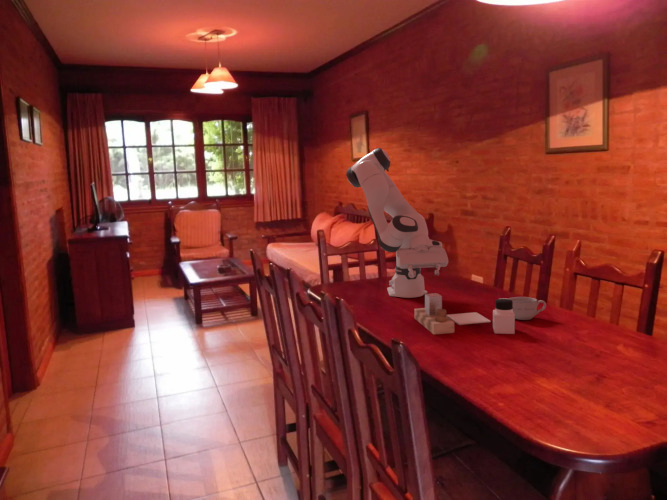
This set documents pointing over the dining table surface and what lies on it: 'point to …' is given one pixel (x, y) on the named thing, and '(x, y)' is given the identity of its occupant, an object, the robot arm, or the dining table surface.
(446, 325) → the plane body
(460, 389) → the dining table surface
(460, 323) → the off-white pad
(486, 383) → the dining table surface
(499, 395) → the dining table surface
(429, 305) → the gray rectangular block
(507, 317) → the medicine bottle
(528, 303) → the teacup
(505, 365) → the dining table surface
